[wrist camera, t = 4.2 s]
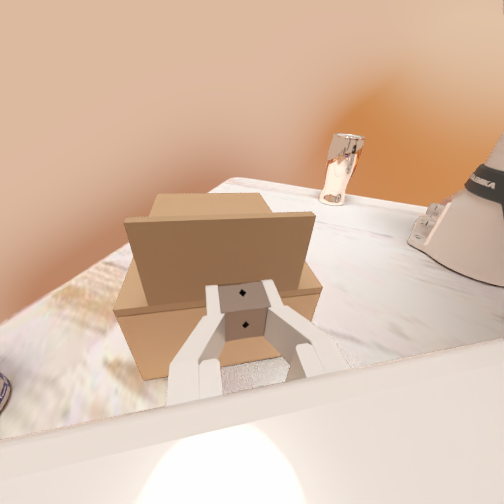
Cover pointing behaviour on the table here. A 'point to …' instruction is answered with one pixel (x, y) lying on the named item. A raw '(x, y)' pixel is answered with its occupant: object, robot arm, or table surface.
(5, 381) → the energy drink
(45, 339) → the table surface
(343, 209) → the table surface
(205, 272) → the mailer lid
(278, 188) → the table surface
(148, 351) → the mailer box
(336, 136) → the beer glass
